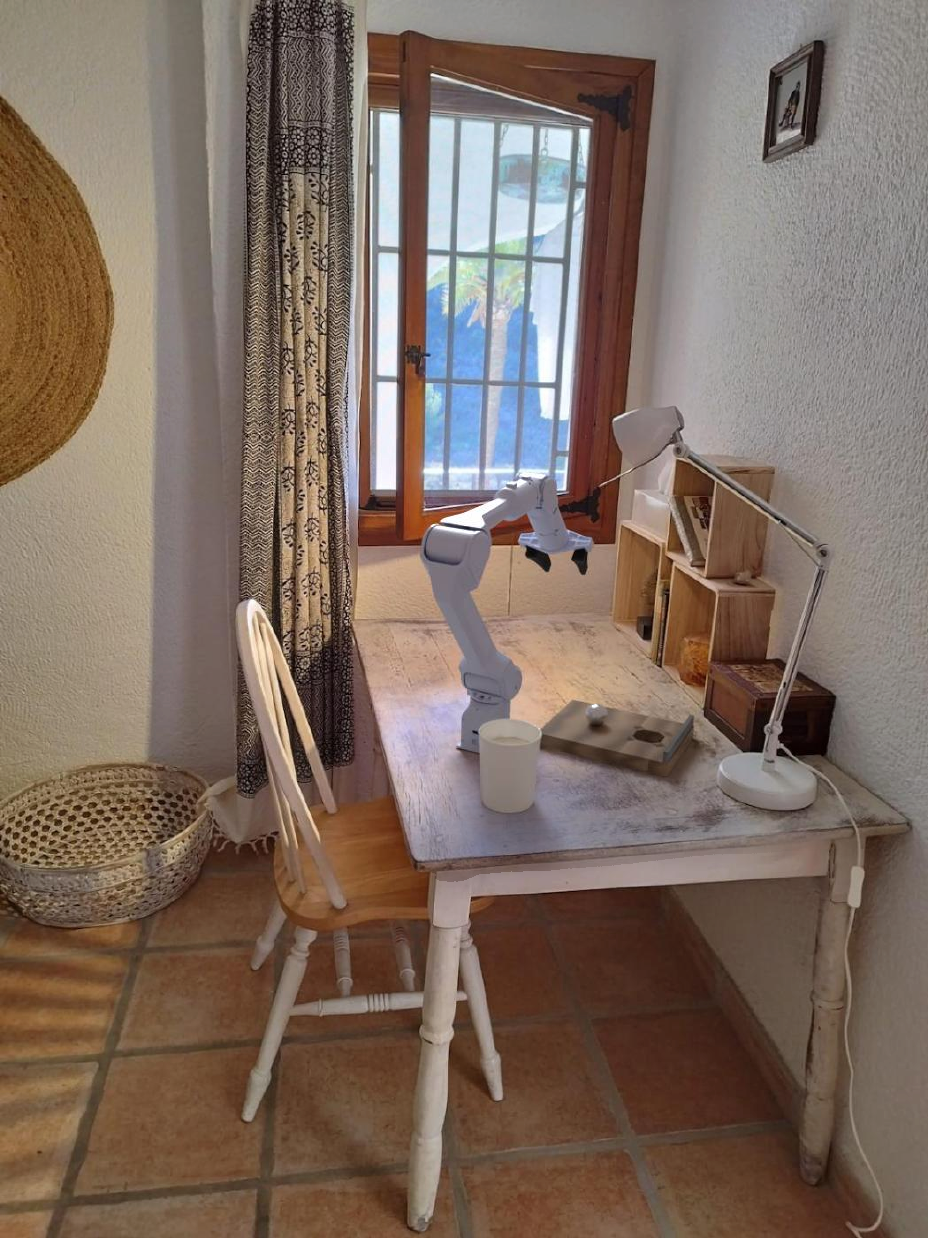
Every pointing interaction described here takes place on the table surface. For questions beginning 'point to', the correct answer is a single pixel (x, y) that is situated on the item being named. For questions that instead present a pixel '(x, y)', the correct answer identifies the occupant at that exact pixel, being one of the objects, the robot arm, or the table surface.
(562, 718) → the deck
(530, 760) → the candle holder
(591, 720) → the ball
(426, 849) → the table surface
